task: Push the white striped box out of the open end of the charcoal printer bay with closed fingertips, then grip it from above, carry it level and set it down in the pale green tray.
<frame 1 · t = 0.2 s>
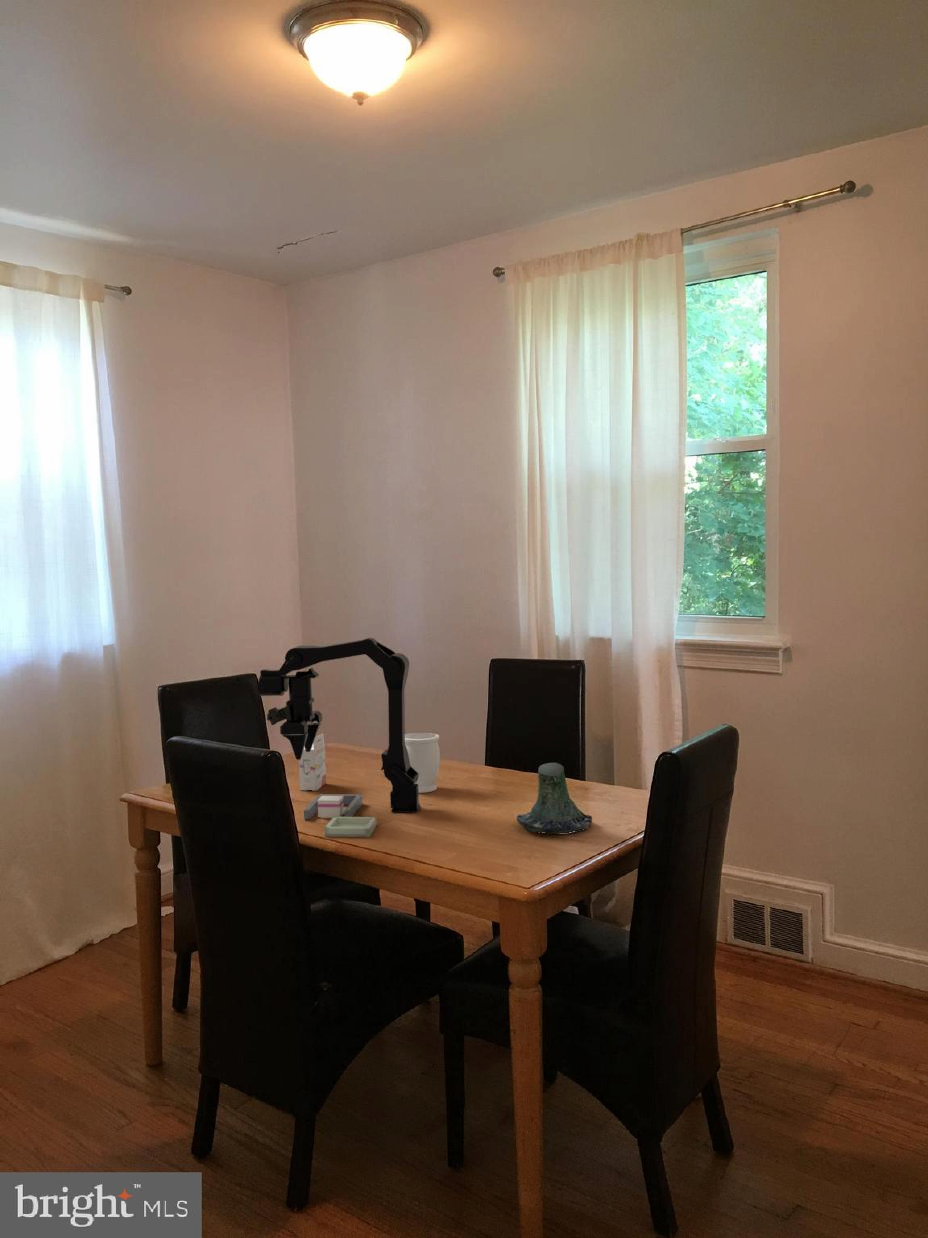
hand: (303, 755, 250), 14 cm above the table, tool pointing down, fingers open, 9 cm apart
bay: (333, 812, 247), on the table
tree stump: (554, 827, 232), on the table
white striped box: (331, 815, 244), on the table
ink cartridge box: (313, 787, 274), on the table
tray: (351, 830, 231), on the table
jar: (421, 790, 268), on the table
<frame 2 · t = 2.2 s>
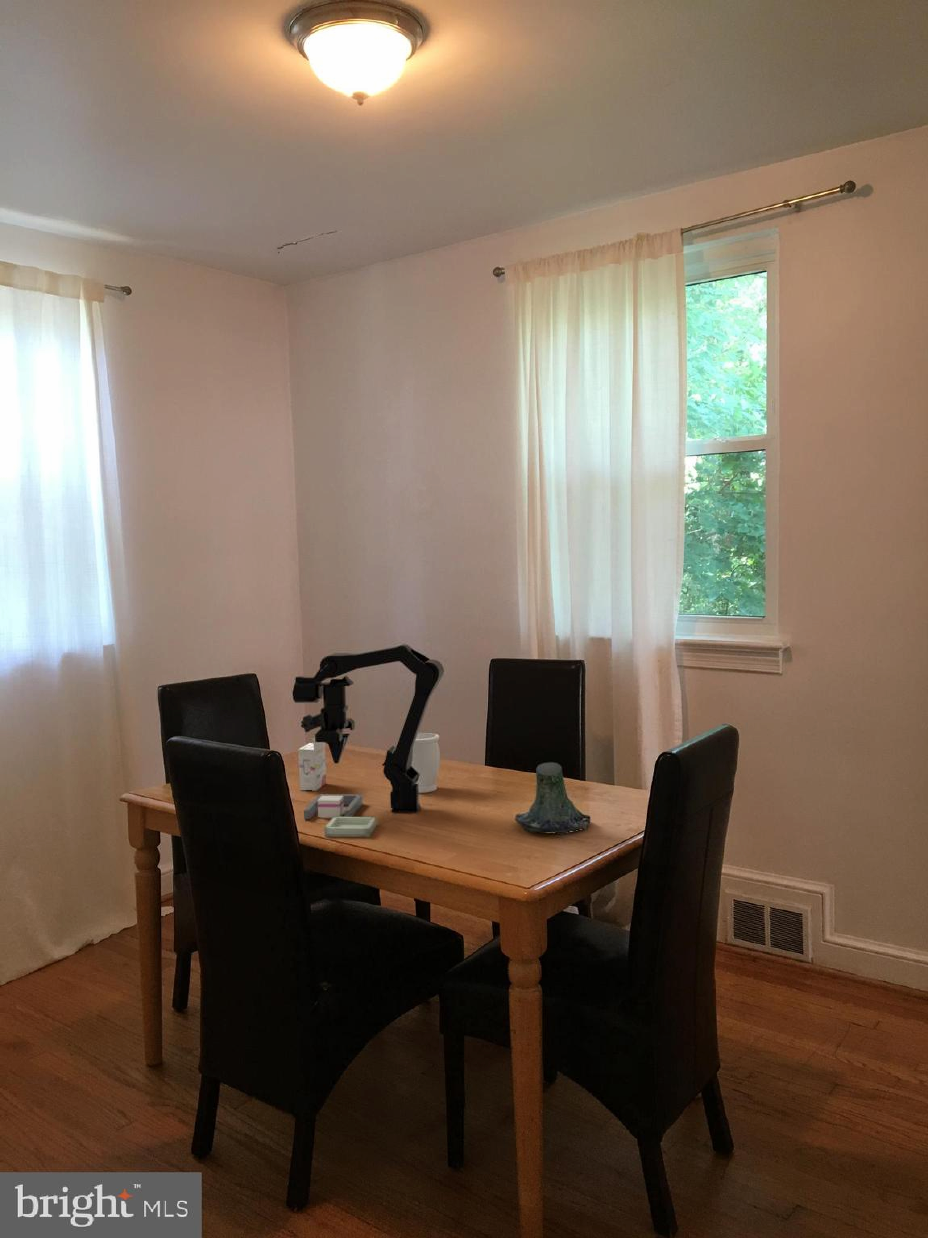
hand: (336, 763, 251), 12 cm above the table, tool pointing down, fingers closed
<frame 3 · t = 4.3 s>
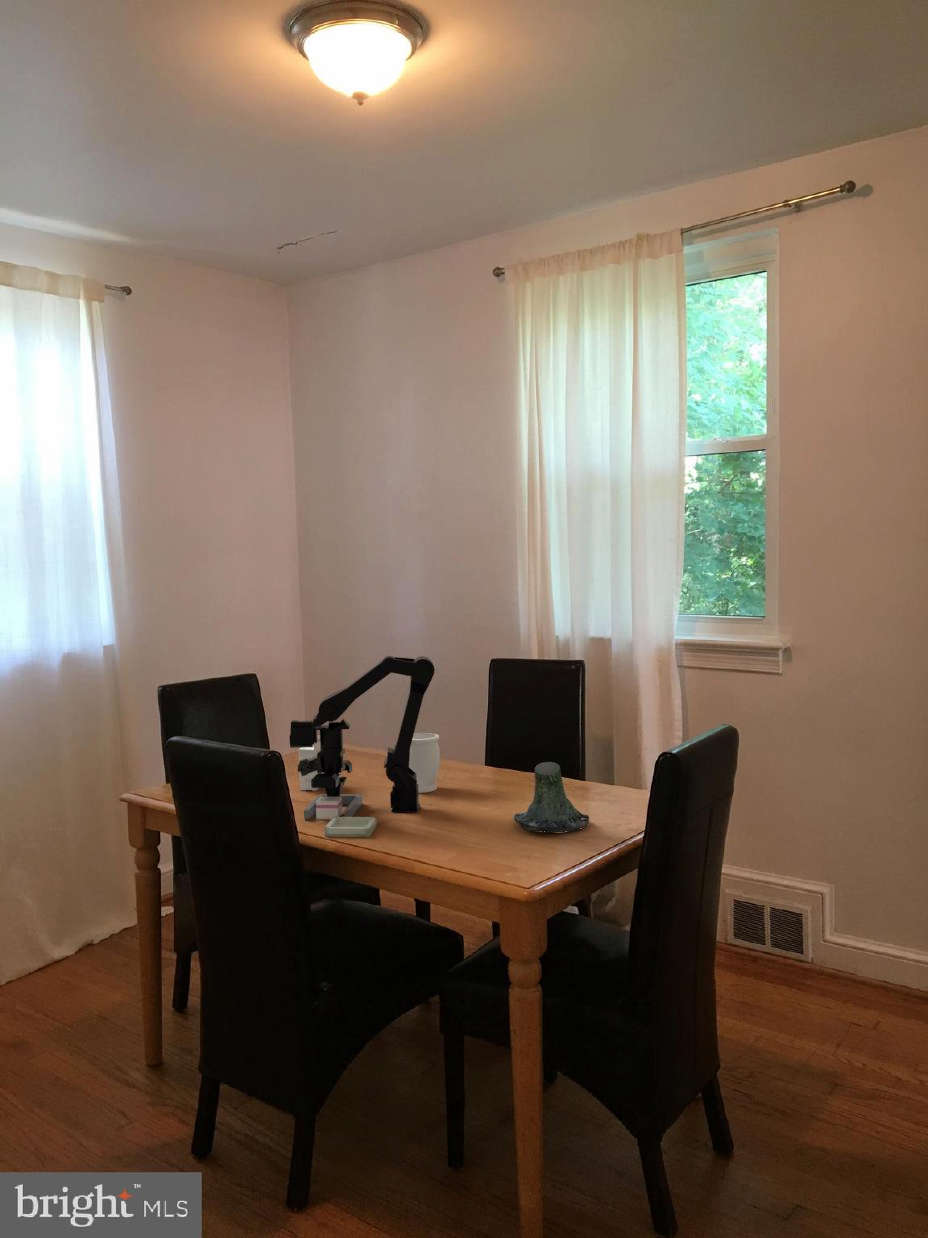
hand: (333, 807, 247), 1 cm above the table, tool pointing down, fingers closed
white striped box: (329, 816, 243), on the table, touching gripper
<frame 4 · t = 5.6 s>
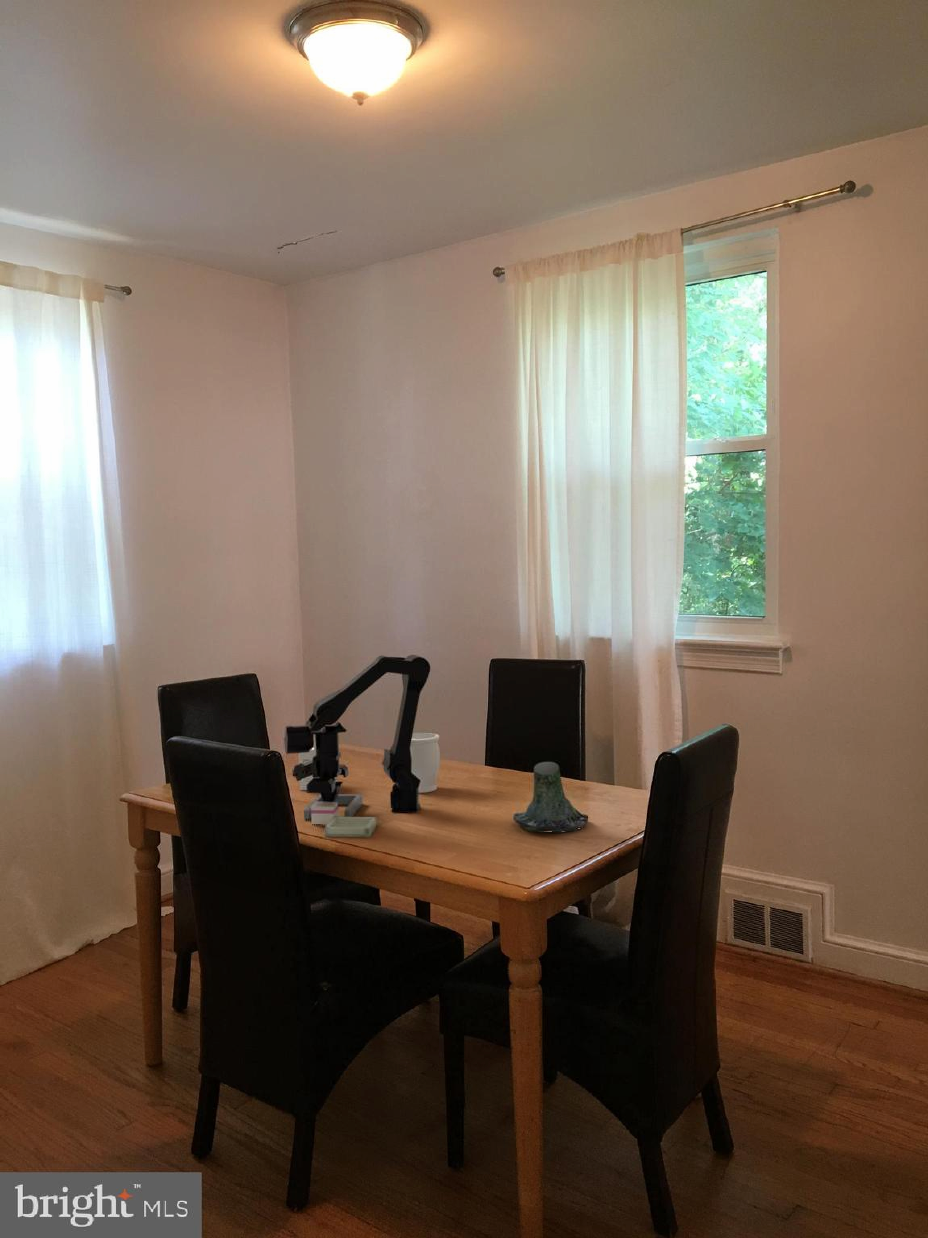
hand: (329, 812, 243), 1 cm above the table, tool pointing down, fingers closed
white striped box: (325, 822, 238), on the table, touching gripper
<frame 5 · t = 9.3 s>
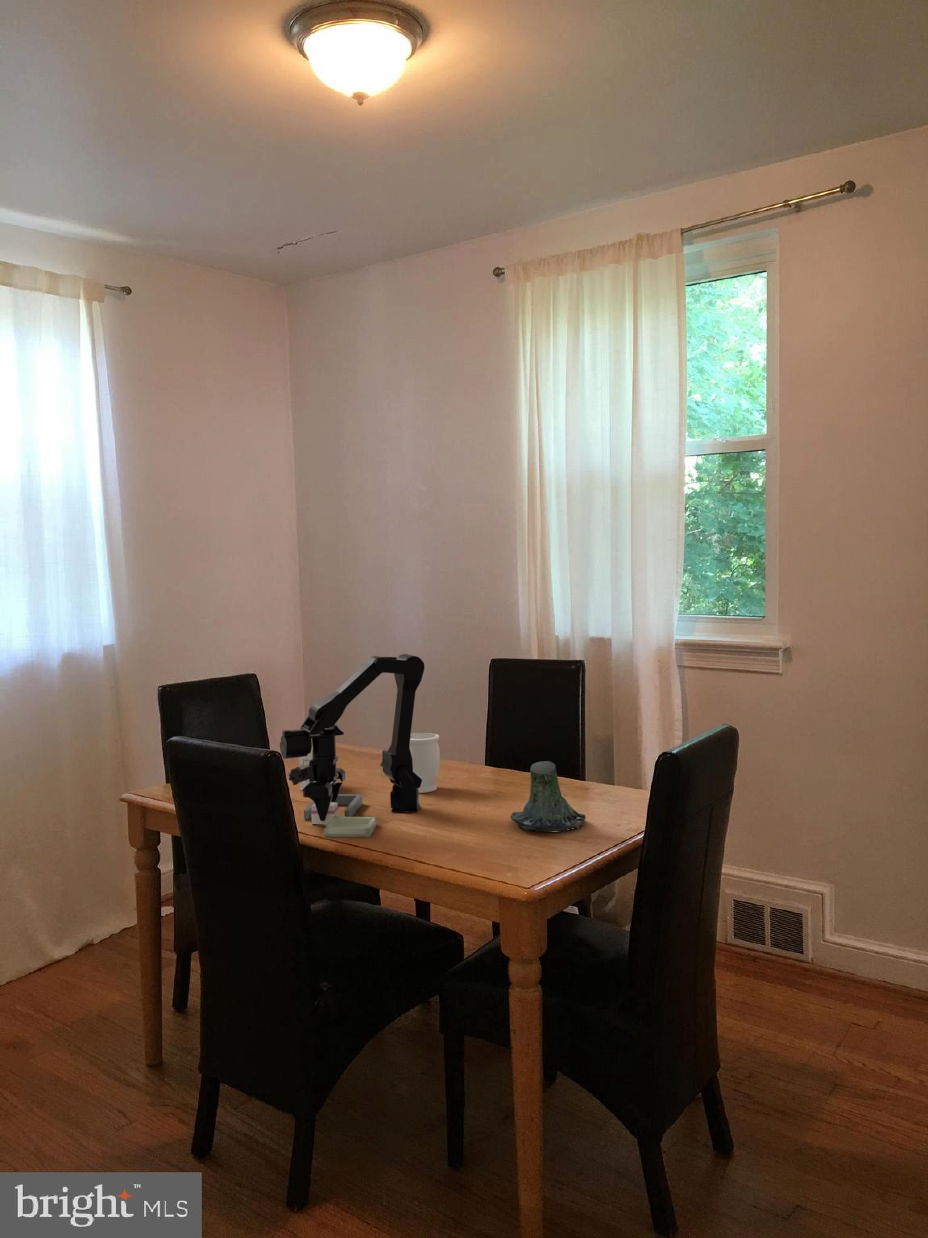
hand: (325, 817, 239), 1 cm above the table, tool pointing down, fingers open, 6 cm apart
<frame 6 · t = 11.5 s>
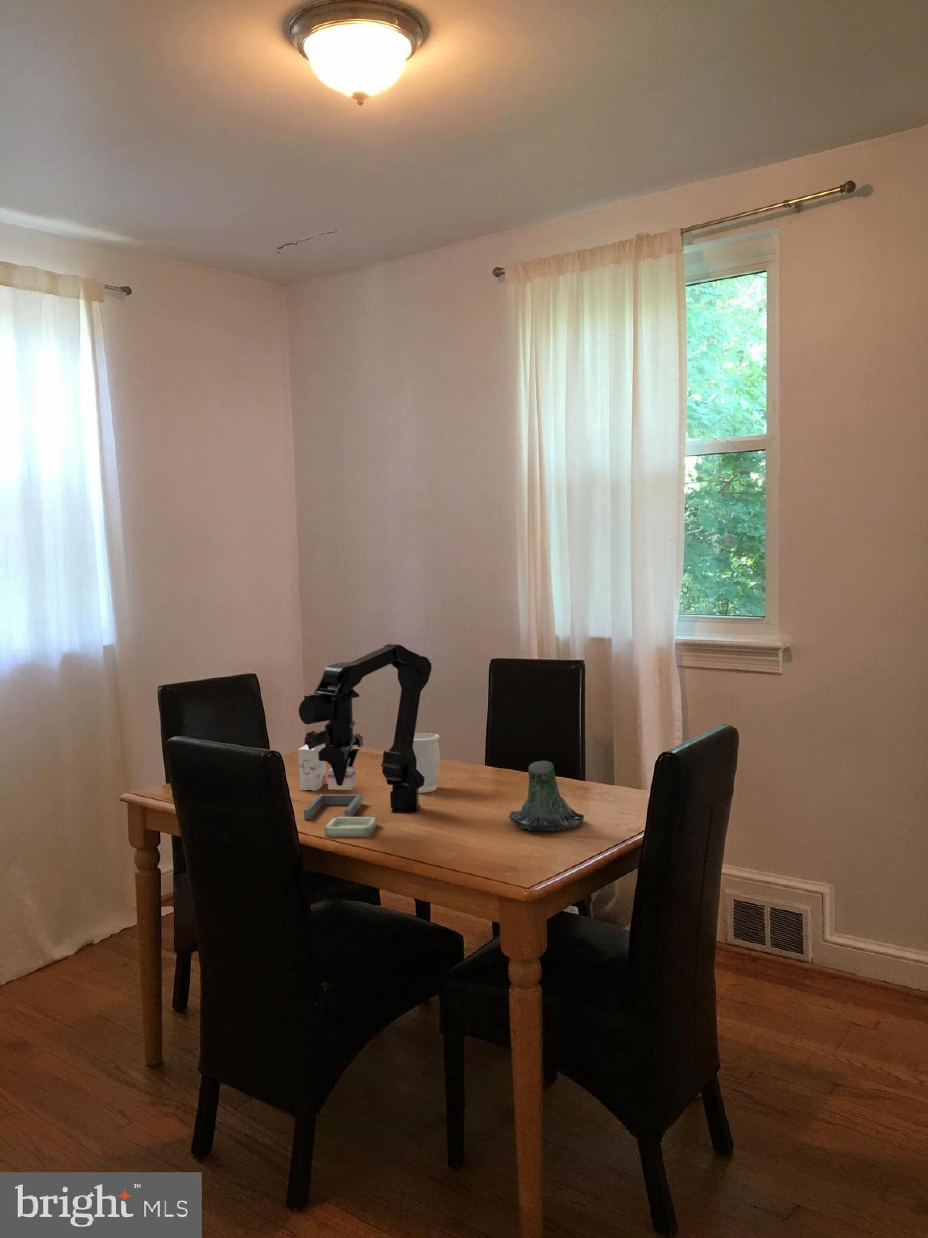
hand: (342, 782, 232), 11 cm above the table, tool pointing down, fingers closed on white striped box, 4 cm apart
white striped box: (342, 787, 232), point 10 cm above the table, touching gripper
when the fingers open (3 cm above the table, at t = 13.6 s): white striped box drops 1 cm, resting on tray.
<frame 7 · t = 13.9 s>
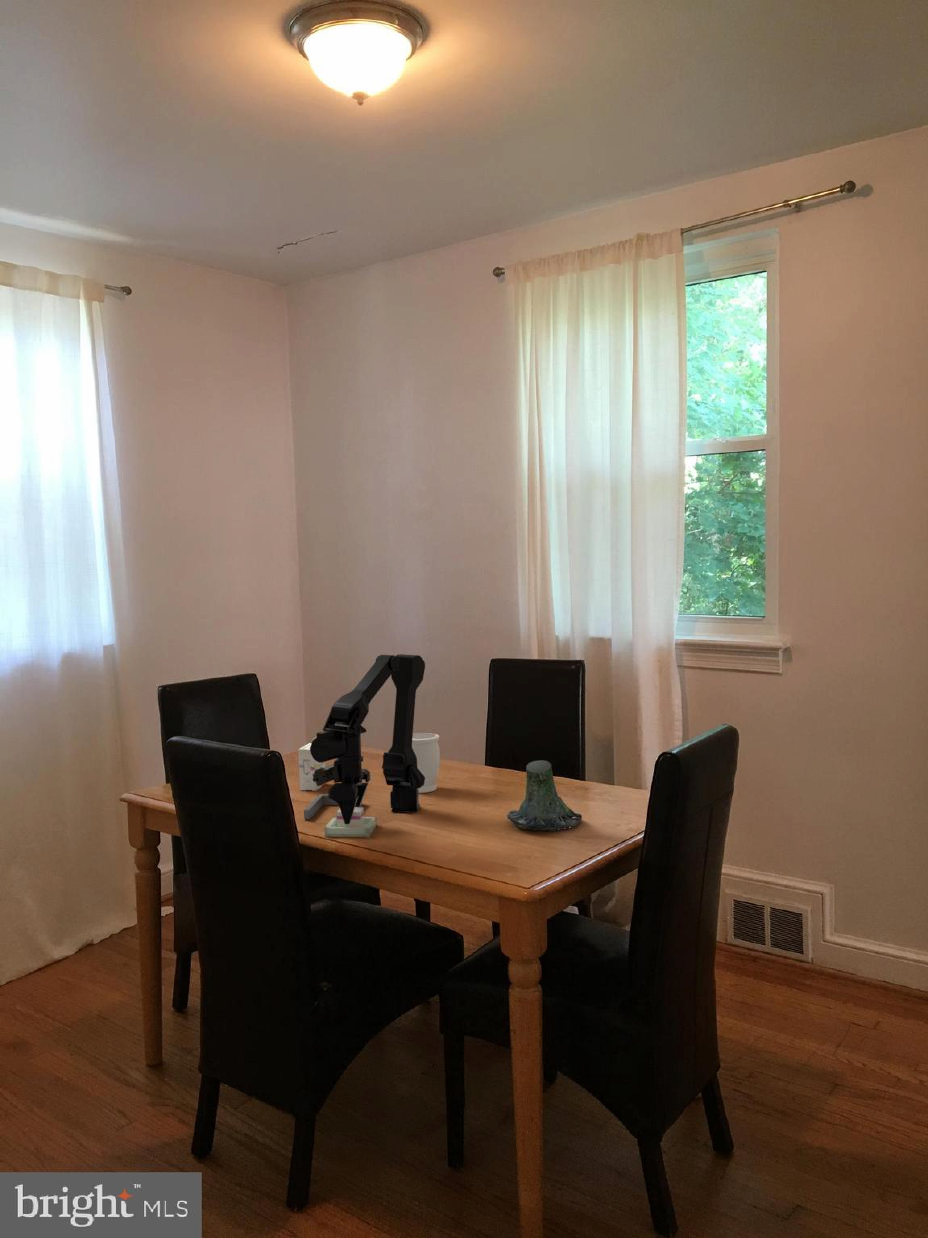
hand: (350, 819, 231), 3 cm above the table, tool pointing down, fingers open, 8 cm apart
white striped box: (350, 828, 231), point 1 cm above the table, touching tray
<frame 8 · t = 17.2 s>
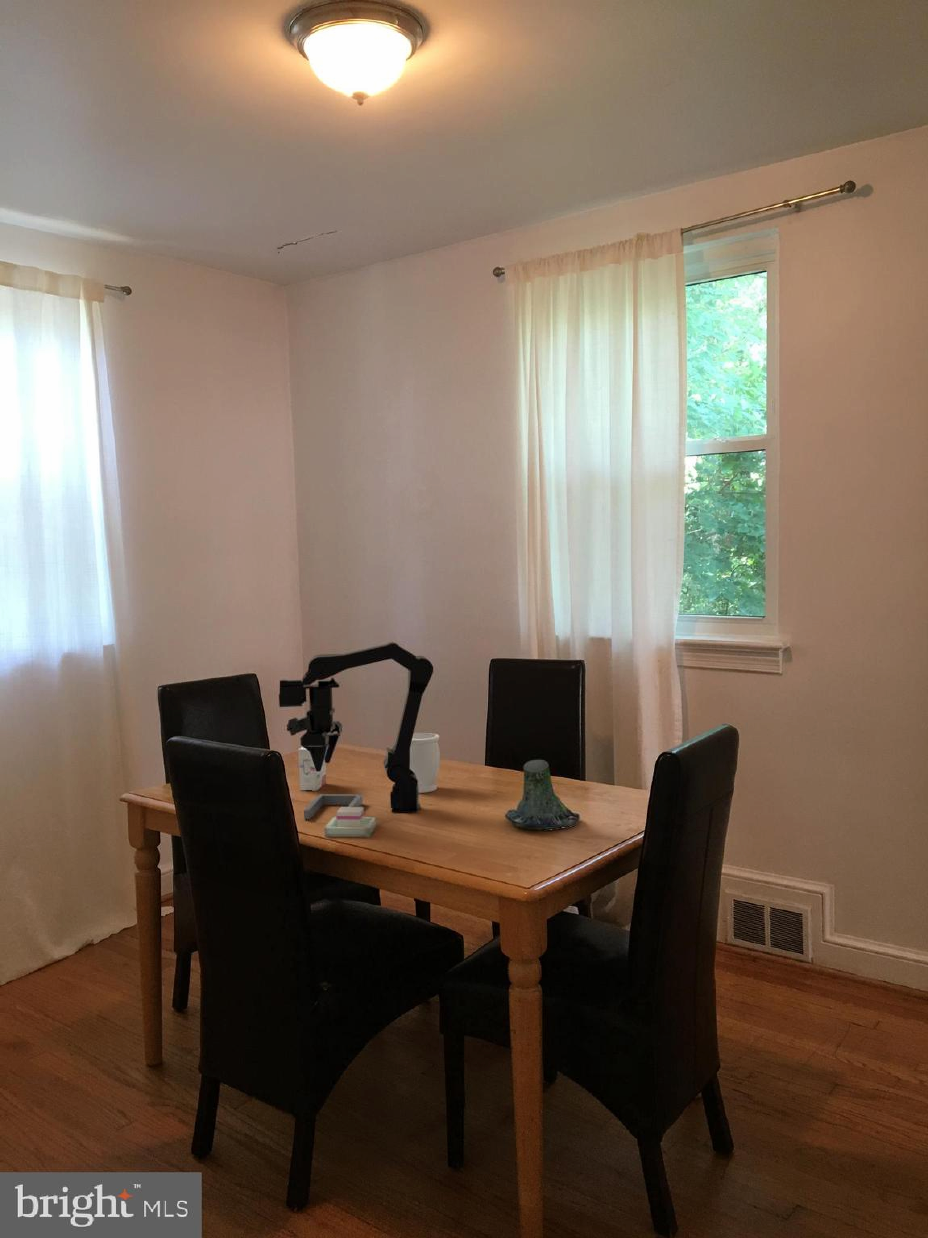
hand: (323, 767, 245), 12 cm above the table, tool pointing down, fingers open, 9 cm apart
at the end: white striped box inside the target area (0.1 cm from its centre), point 0.6 cm above the table; white striped box tilted 0°; the gripper is holding nothing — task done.
